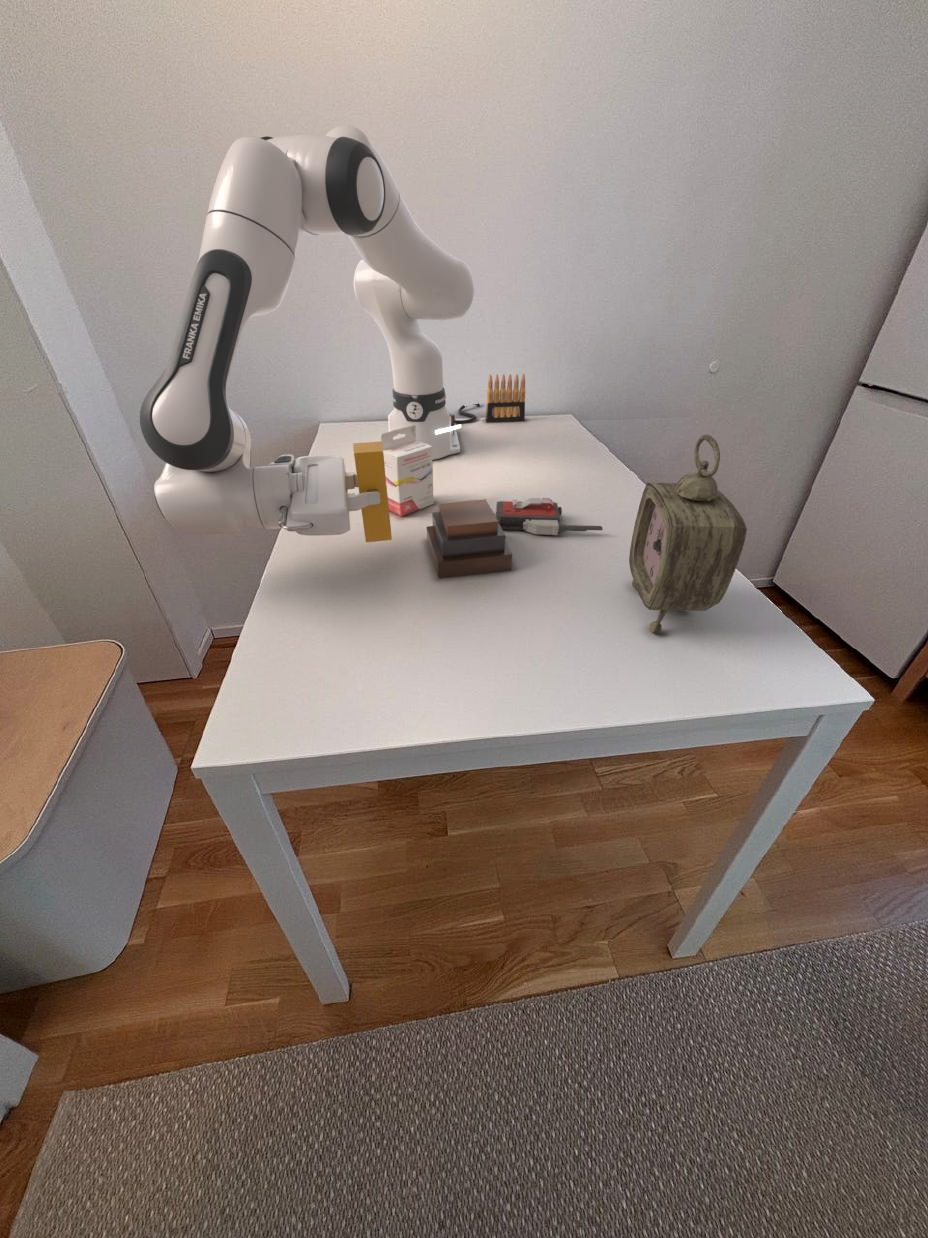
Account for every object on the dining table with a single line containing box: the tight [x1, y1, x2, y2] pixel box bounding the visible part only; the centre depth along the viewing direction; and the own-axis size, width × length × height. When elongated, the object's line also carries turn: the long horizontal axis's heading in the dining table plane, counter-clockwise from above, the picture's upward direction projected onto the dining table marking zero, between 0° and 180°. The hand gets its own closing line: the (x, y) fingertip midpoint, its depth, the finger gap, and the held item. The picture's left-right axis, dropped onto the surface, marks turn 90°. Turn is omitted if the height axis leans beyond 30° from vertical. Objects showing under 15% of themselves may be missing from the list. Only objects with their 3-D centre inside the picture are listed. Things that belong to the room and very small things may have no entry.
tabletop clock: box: [628, 434, 748, 634], centre depth 67 cm, size 14×9×25 cm, turn 178°
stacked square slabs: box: [425, 498, 513, 579], centre depth 85 cm, size 12×12×8 cm
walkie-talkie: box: [495, 497, 604, 536], centre depth 94 cm, size 9×4×20 cm
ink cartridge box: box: [380, 425, 435, 517], centre depth 97 cm, size 9×5×15 cm, turn 134°
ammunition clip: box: [485, 373, 526, 423], centre depth 139 cm, size 11×2×12 cm, turn 96°
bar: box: [352, 440, 393, 543], centre depth 77 cm, size 4×4×14 cm
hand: (378, 488), depth 77 cm, fingers closed on bar, 4 cm apart
